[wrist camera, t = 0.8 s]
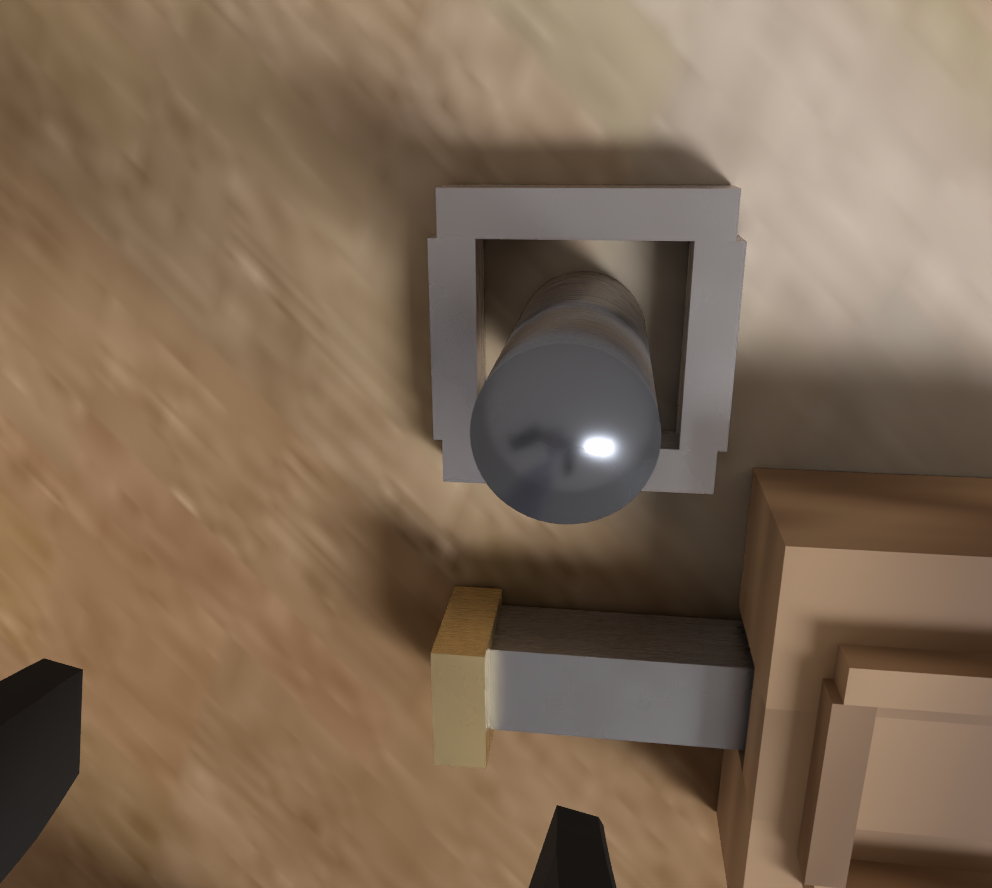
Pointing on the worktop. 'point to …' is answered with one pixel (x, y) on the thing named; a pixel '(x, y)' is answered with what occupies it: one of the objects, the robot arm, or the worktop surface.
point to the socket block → (864, 685)
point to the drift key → (584, 677)
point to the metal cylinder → (570, 404)
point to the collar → (591, 216)
